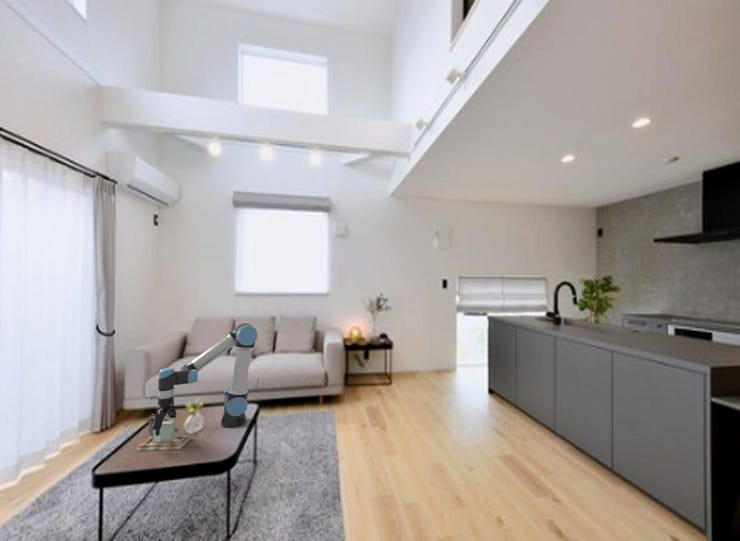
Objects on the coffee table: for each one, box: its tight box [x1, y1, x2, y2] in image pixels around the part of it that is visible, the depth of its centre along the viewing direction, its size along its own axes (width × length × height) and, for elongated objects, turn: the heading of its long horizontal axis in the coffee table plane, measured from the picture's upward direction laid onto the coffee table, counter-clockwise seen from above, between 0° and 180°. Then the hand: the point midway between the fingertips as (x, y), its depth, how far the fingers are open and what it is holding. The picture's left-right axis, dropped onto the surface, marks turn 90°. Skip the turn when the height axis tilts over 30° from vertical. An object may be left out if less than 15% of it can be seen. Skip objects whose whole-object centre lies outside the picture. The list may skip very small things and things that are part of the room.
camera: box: [148, 413, 170, 437], centre depth 199 cm, size 14×11×10 cm
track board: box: [136, 435, 191, 452], centre depth 184 cm, size 22×12×2 cm, turn 95°
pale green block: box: [153, 420, 176, 444], centre depth 184 cm, size 10×4×11 cm, turn 95°
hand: (164, 435), depth 184 cm, fingers open, 13 cm apart
